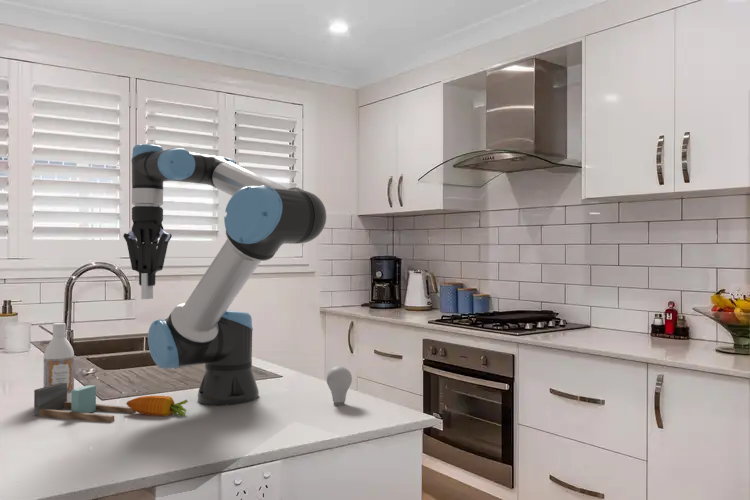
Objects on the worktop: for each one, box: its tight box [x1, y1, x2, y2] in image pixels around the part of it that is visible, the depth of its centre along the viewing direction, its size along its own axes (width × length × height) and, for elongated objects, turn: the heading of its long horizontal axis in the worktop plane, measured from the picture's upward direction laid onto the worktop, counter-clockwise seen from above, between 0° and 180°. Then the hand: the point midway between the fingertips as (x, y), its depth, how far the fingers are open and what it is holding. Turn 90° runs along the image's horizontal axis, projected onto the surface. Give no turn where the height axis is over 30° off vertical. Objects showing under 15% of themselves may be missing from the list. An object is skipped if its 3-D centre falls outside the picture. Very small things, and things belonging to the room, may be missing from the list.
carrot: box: [125, 395, 188, 417], centre depth 147 cm, size 5×5×15 cm
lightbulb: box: [326, 365, 353, 407], centre depth 152 cm, size 6×6×11 cm
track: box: [33, 383, 137, 423], centre depth 148 cm, size 22×8×6 cm, turn 73°
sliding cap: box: [70, 384, 97, 413], centre depth 149 cm, size 2×6×6 cm, turn 163°
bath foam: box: [43, 322, 75, 402], centre depth 160 cm, size 7×7×20 cm
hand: (147, 298), depth 161 cm, fingers closed
